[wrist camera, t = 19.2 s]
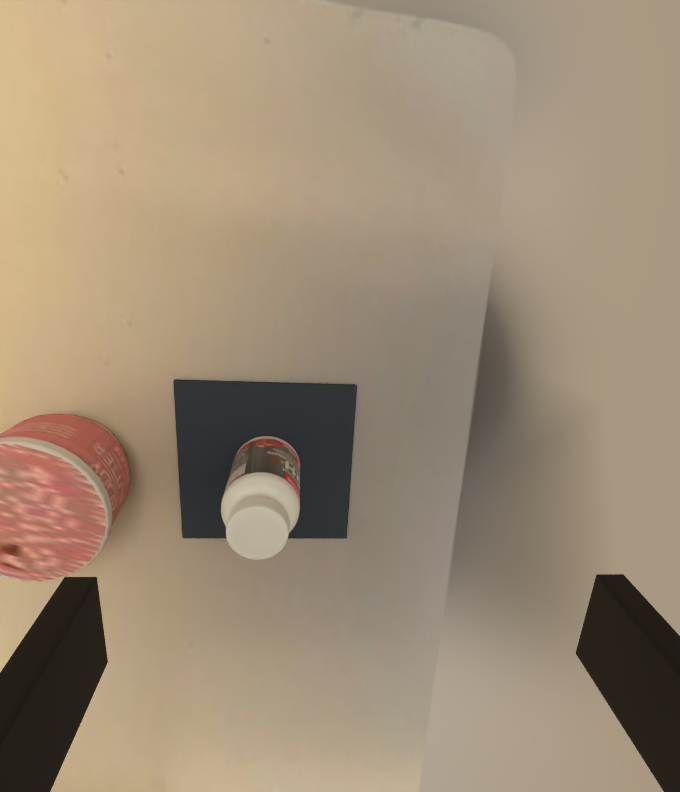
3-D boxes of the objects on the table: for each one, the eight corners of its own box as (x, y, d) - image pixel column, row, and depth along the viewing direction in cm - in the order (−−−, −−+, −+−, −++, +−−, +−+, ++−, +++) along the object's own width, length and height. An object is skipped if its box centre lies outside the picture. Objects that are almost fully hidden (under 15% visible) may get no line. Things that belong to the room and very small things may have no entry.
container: (20, 379, 37) (-52, 418, 29) (160, 424, 39) (125, 472, 31) (-5, 495, 40) (-76, 558, 32) (125, 532, 42) (87, 599, 34)
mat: (356, 384, 39) (357, 386, 39) (346, 535, 44) (346, 538, 43) (174, 379, 38) (173, 380, 38) (183, 535, 42) (182, 538, 42)
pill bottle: (312, 453, 40) (315, 520, 31) (279, 503, 42) (273, 582, 32) (254, 422, 39) (239, 482, 30) (221, 474, 40) (198, 548, 31)
